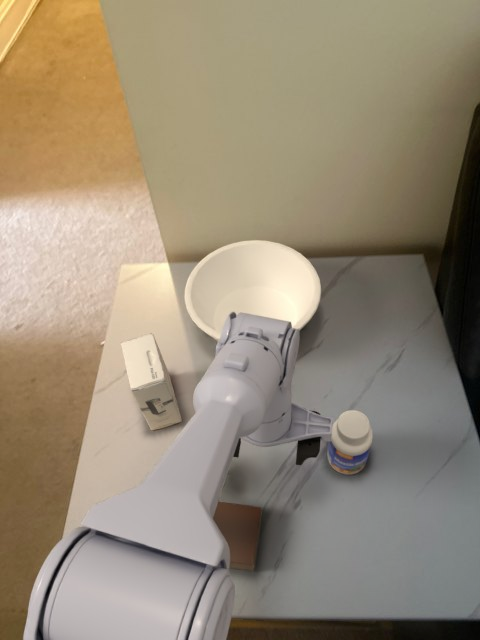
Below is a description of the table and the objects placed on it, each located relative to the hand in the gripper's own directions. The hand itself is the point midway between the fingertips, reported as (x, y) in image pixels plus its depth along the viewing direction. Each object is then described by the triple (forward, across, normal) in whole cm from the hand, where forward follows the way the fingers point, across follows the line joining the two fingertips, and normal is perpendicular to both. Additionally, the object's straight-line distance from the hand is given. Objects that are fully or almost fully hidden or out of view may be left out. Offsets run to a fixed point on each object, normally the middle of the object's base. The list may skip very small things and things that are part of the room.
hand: (267, 453), depth 69 cm
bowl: (+10, +6, -27) cm, 29 cm away
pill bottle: (+10, -10, -5) cm, 15 cm away
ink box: (+10, +18, -10) cm, 23 cm away
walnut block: (+9, +4, +8) cm, 13 cm away
